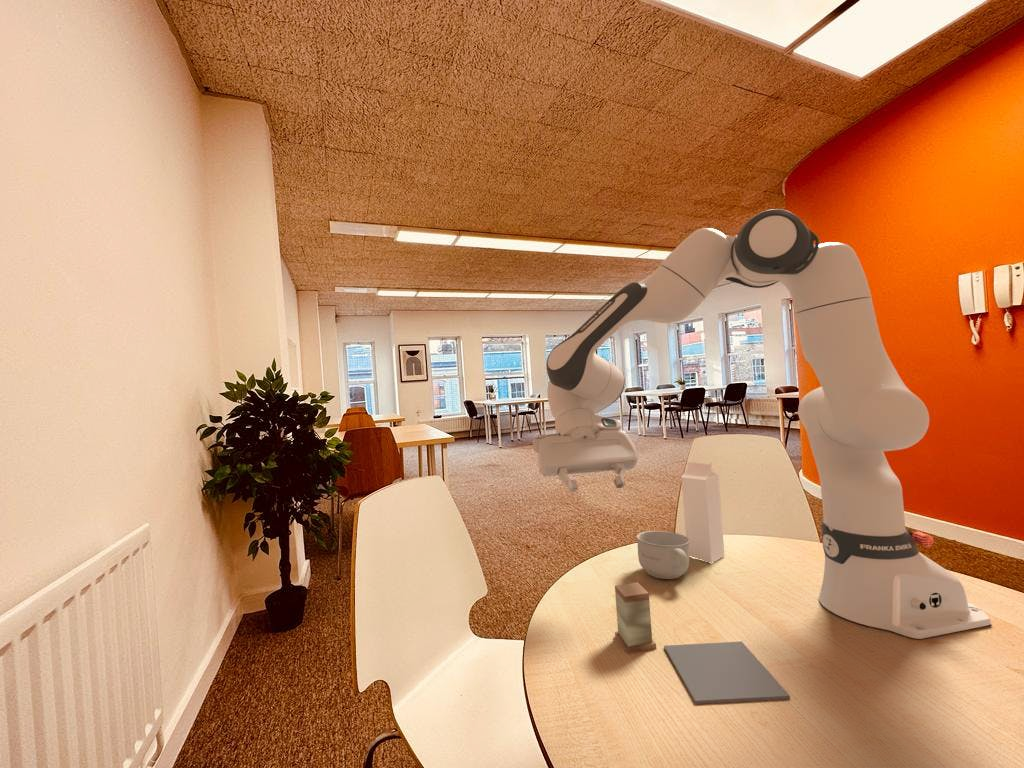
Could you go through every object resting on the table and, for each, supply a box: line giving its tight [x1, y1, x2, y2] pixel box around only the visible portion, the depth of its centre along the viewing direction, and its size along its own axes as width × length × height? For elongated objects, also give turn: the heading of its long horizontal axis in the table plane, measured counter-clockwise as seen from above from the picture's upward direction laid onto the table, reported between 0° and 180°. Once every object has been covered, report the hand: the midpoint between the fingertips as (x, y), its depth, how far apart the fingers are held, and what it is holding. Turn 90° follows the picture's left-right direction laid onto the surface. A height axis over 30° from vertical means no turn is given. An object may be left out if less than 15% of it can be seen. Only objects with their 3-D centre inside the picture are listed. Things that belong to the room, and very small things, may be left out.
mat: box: [663, 641, 791, 705], centre depth 61 cm, size 12×12×1 cm
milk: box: [681, 461, 726, 564], centre depth 101 cm, size 6×6×22 cm
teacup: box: [636, 530, 690, 580], centre depth 92 cm, size 14×11×8 cm
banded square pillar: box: [614, 581, 657, 654], centre depth 69 cm, size 5×5×8 cm
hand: (597, 488), depth 82 cm, fingers open, 8 cm apart
